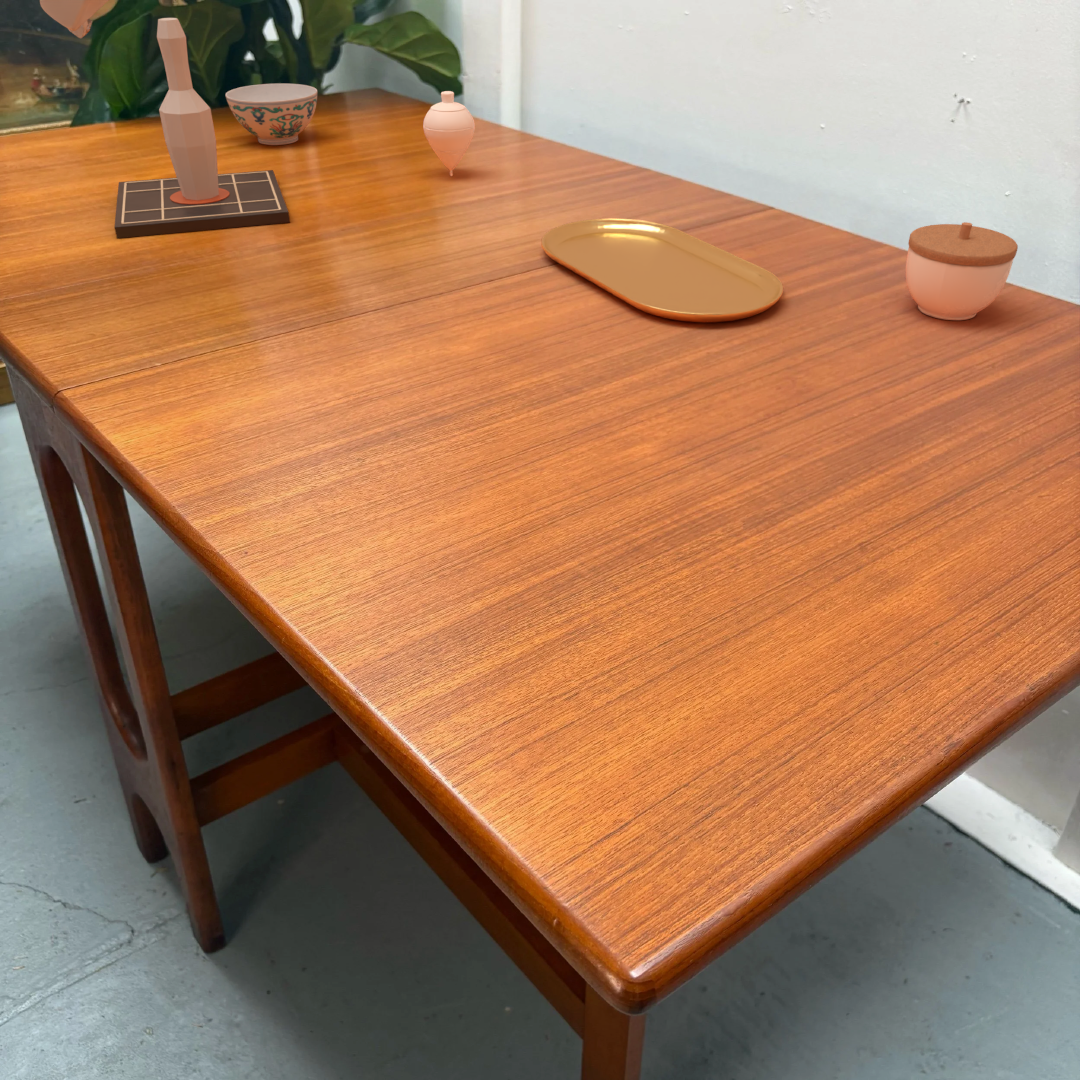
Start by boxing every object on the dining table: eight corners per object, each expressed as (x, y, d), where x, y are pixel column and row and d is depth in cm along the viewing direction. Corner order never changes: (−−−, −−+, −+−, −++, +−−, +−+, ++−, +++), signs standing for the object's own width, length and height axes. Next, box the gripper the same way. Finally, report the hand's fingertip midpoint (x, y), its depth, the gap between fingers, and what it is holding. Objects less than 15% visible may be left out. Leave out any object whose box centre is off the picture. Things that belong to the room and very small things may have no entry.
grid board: (116, 238, 131) (114, 226, 130) (120, 192, 148) (118, 181, 147) (290, 222, 137) (288, 210, 136) (274, 180, 154) (272, 169, 153)
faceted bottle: (206, 186, 145) (174, 14, 133) (233, 194, 142) (204, 18, 129) (167, 196, 141) (131, 19, 129) (195, 204, 138) (160, 24, 125)
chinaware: (236, 132, 179) (228, 85, 175) (322, 128, 181) (317, 82, 177) (230, 153, 167) (221, 103, 163) (322, 149, 169) (317, 99, 165)
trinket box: (1010, 304, 112) (1033, 219, 107) (984, 337, 105) (1008, 247, 99) (912, 285, 117) (930, 202, 112) (882, 314, 110) (899, 228, 104)
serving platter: (636, 222, 137) (637, 210, 136) (817, 307, 112) (819, 293, 111) (514, 244, 129) (513, 232, 128) (678, 341, 104) (679, 326, 103)
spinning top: (484, 179, 154) (482, 94, 147) (438, 185, 151) (433, 99, 144) (463, 167, 160) (460, 84, 153) (418, 173, 157) (412, 89, 150)
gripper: (154, -167, 103) (128, -59, 114) (34, -72, 92) (19, 37, 103) (210, -122, 105) (179, -20, 116) (99, -24, 94) (76, 78, 105)
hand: (102, 7), depth 109 cm, fingers open, 8 cm apart
